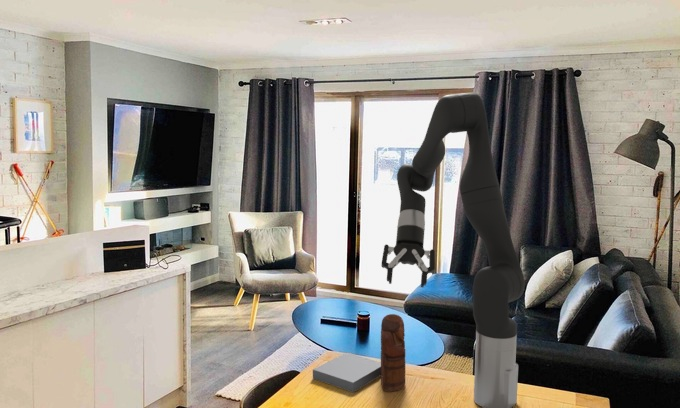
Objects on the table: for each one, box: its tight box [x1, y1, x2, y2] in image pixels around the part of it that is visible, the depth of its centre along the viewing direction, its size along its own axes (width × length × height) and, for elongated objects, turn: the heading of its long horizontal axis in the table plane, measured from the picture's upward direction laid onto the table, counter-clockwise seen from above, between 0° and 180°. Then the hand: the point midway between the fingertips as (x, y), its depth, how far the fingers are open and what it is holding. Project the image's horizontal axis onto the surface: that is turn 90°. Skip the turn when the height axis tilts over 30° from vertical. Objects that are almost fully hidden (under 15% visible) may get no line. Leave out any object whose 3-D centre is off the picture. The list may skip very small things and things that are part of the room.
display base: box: [312, 352, 381, 393], centre depth 147 cm, size 13×15×2 cm
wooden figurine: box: [380, 313, 406, 393], centre depth 141 cm, size 12×6×18 cm, turn 177°
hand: (406, 284), depth 147 cm, fingers open, 8 cm apart
